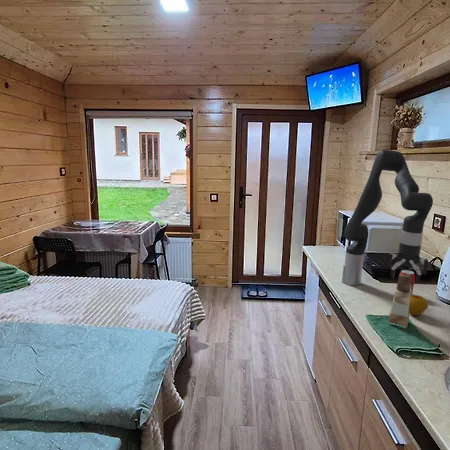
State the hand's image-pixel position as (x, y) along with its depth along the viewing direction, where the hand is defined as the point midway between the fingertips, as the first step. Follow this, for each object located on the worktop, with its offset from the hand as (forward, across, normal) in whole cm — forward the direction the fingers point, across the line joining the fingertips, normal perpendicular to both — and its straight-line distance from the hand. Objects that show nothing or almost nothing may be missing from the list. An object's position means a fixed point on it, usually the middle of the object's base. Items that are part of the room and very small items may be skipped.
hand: (404, 280), depth 134 cm
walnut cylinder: (+4, 0, 0) cm, 4 cm away
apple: (+20, +6, +13) cm, 24 cm away
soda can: (+20, 0, +36) cm, 41 cm away
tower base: (+19, 0, 0) cm, 19 cm away
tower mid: (+14, 0, 0) cm, 14 cm away
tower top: (+9, 0, 0) cm, 9 cm away
